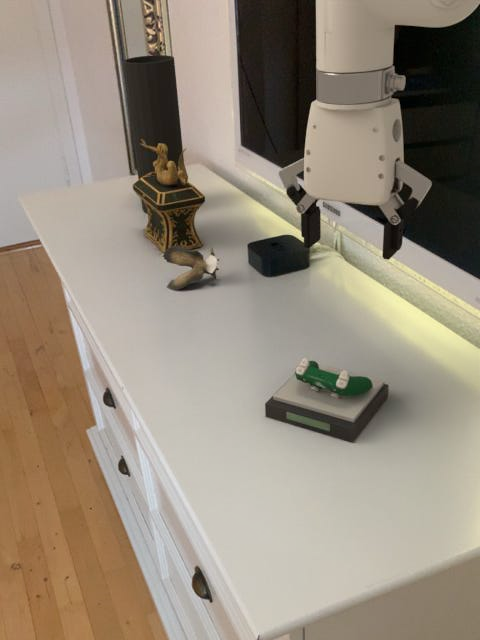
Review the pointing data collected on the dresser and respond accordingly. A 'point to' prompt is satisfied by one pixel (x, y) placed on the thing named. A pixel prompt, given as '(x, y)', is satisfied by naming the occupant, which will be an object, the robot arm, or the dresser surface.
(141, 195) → the decorative box
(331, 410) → the scale
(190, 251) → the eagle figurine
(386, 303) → the dresser surface
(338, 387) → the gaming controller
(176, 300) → the dresser surface
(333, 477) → the dresser surface
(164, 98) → the vase
